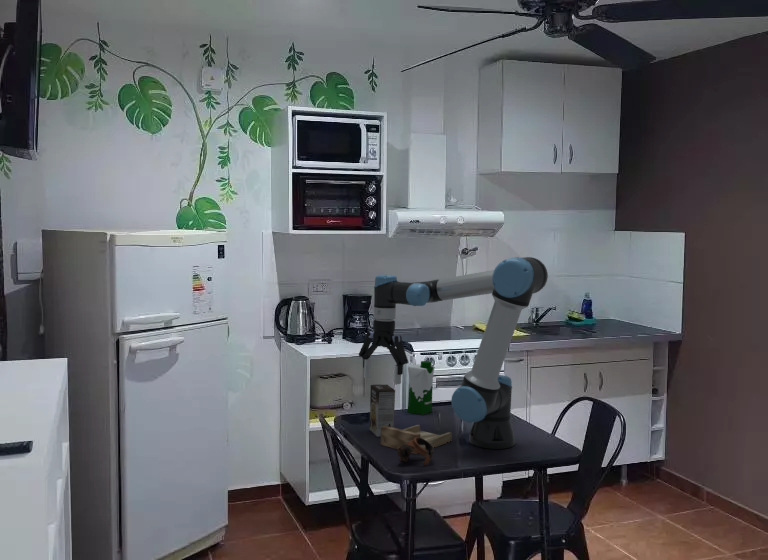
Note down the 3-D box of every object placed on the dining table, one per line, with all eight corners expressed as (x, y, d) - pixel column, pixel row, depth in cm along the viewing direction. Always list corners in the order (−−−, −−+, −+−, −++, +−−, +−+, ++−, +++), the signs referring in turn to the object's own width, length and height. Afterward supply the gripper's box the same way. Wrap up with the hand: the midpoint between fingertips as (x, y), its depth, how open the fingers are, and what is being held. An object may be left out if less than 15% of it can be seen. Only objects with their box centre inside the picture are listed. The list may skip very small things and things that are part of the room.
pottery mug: (411, 455, 224) (424, 435, 223) (428, 476, 218) (442, 455, 216) (385, 453, 216) (399, 432, 214) (402, 475, 210) (416, 453, 208)
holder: (451, 441, 240) (452, 423, 239) (416, 454, 224) (416, 435, 224) (417, 432, 249) (417, 415, 248) (380, 444, 233) (380, 426, 233)
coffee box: (368, 429, 251) (370, 384, 250) (386, 428, 253) (387, 383, 252) (376, 437, 242) (377, 390, 241) (394, 435, 244) (395, 389, 243)
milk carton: (423, 416, 272) (425, 364, 271) (403, 412, 277) (405, 361, 276) (435, 411, 279) (437, 361, 278) (415, 408, 284) (417, 358, 283)
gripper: (350, 316, 250) (348, 376, 251) (406, 324, 234) (403, 388, 236) (364, 315, 256) (362, 373, 257) (419, 322, 240) (417, 385, 241)
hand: (382, 380), depth 246 cm, fingers open, 13 cm apart
